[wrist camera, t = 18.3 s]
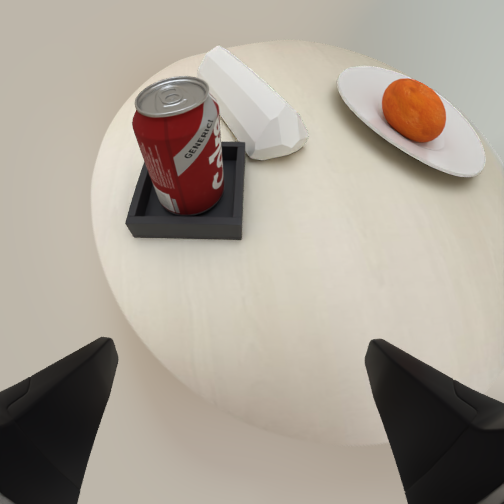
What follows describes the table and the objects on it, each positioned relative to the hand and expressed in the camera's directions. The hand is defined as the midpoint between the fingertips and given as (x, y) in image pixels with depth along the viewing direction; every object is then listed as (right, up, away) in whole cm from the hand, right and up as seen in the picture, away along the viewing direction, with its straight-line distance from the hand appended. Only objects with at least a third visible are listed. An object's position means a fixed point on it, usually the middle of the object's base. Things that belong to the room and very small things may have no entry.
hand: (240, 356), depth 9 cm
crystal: (-1, +23, +26) cm, 35 cm away
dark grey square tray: (-6, +9, +19) cm, 22 cm away
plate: (+27, +24, +28) cm, 46 cm away
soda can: (-6, +9, +19) cm, 22 cm away
